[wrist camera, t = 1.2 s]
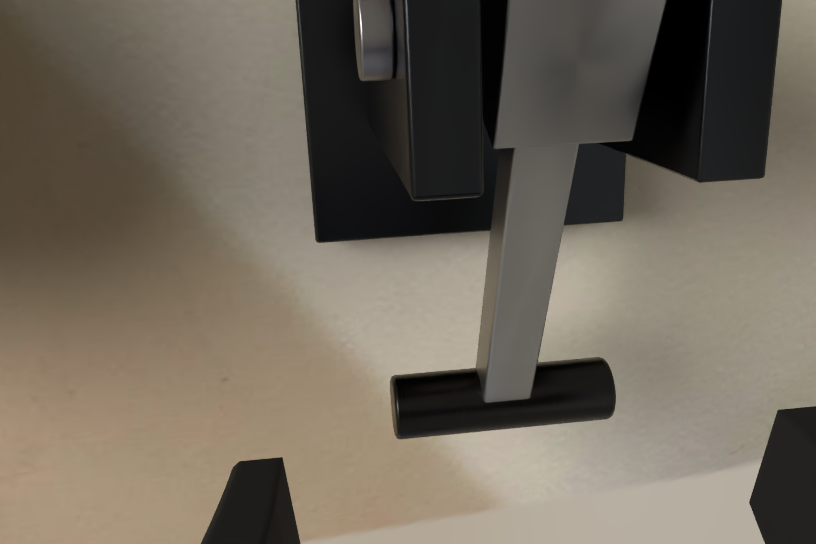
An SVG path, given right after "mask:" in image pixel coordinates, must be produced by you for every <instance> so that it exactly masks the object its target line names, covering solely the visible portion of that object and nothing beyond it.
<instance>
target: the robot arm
mask: <svg viewBox="0 0 816 544" xmlns="http://www.w3.org/2000/svg"><path fill="white" fill-rule="evenodd" d="M749 503H750V506H751V508H752V511H753V514H754V516H755V518H756V521H757V524H758V526H759V529H760V532H761V534H762V537H763V539H764V542H765V544H816V406H815V407H804V408H794V409H784V410H778V411H777V414H776V418H775V421H774V424H773V427H772V431H771V434H770V437H769V440H768V444H767V447H766V450H765V453H764V456H763V460H762V463H761V466H760V469H759V473H758V476H757V479H756V482H755V486H754V489H753V492H752V495H751V498H750V502H749ZM201 544H300V540H299V535H298V530H297V525H296V520H295V516H294V511H293V506H292V501H291V497H290V492H289V487H288V482H287V478H286V473H285V468H284V463H283V458H282V457H281V458H271V459H260V460H250V461H240V462H238V463H237V464H236V465H235V466H234V467H233V469H232V471H231V474H230V477H229V480H228V482H227V485H226V487H225V490H224V492H223V495H222V497H221V500H220V502H219V504H218V507H217V509H216V512H215V514H214V516H213V518H212V521H211V523H210V525H209V527H208V529H207V532H206V534H205V536H204V538H203V540H202V542H201Z"/></svg>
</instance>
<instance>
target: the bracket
mask: <svg viewBox="0 0 816 544" xmlns="http://www.w3.org/2000/svg"><path fill="white" fill-rule="evenodd" d="M781 7H782V0H667V3H666V8H665V12H664V16H663V20H662V24H661V28H660V32H659V36H658V40H657V44H656V48H655V52H654V56H653V60H652V64H651V69H650V73H649V77H648V81H647V85H646V89H645V93H644V97H643V101H642V105H641V109H640V113H639V117H638V121H637V126H636V130H635V134H634V138H633V140H631V141H618V142H602V143H586V144H579V147H578V152H577V157H576V163H575V168H574V173H573V178H572V184H571V189H570V194H569V199H568V205H567V210H566V215H565V220H564V225H576V224H590V223H604V222H618V221H622V220H623V207H624V184H625V162H626V154H627V155H629V156H632V157H635V158H637V159H640V160H642V161H645V162H648V163H650V164H653V165H655V166H658V167H660V168H663V169H666V170H668V171H671V172H673V173H676V174H679V175H681V176H684V177H686V178H689V179H691V180H694V181H697V182H699V183H702V182H717V181H732V180H747V179H760V178H763V177H764V175H765V166H766V156H767V146H768V136H769V126H770V116H771V106H772V96H773V86H774V76H775V66H776V57H777V47H778V37H779V27H780V17H781ZM296 10H297V22H298V34H299V46H300V58H301V71H302V83H303V95H304V107H305V119H306V131H307V143H308V155H309V167H310V179H311V191H312V203H313V215H314V227H315V239H316V242H318V243H325V242H339V241H352V240H366V239H380V238H394V237H408V236H422V235H436V234H450V233H464V232H478V231H491V222H492V213H493V204H494V194H495V185H496V176H497V166H498V157H499V149H494V148H493V147H492V144H491V141H490V139H489V136H488V133H487V130H486V128H485V125H484V122H483V112H482V35H481V0H296Z"/></svg>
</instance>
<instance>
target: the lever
mask: <svg viewBox="0 0 816 544" xmlns="http://www.w3.org/2000/svg"><path fill="white" fill-rule="evenodd" d="M666 3H667V0H481V35H482V112H483V122H484V125H485V128H486V130H487V133H488V136H489V139H490V141H491V144H492V147H493V148H494V149H499V157H498V166H497V176H496V185H495V194H494V204H493V213H492V222H491V232H490V241H489V250H488V259H487V269H486V278H485V287H484V297H483V306H482V315H481V325H480V334H479V343H478V353H477V362H476V368H471V369H460V370H448V371H437V372H426V373H415V374H404V375H394V376H392V377H391V380H390V395H391V408H392V418H393V426H394V432H395V435H396V437H397V438H398V439H408V438H419V437H429V436H439V435H450V434H460V433H470V432H480V431H491V430H501V429H511V428H521V427H532V426H542V425H552V424H562V423H573V422H583V421H593V420H603V419H608V418H610V417H611V416H612V415H613V413H614V410H615V402H616V392H615V384H614V379H613V375H612V372H611V370H610V367H609V365H608V363H607V362H606V361H605V360H604V359H603V358H600V357H594V358H583V359H572V360H561V361H549V362H538V357H539V352H540V347H541V341H542V336H543V331H544V326H545V320H546V315H547V310H548V304H549V299H550V294H551V289H552V283H553V278H554V273H555V268H556V262H557V257H558V252H559V247H560V241H561V236H562V231H563V226H564V220H565V215H566V210H567V205H568V199H569V194H570V189H571V184H572V178H573V173H574V168H575V163H576V157H577V152H578V147H579V144H586V143H602V142H618V141H631V140H633V138H634V134H635V130H636V126H637V121H638V117H639V113H640V109H641V105H642V101H643V97H644V93H645V89H646V85H647V81H648V77H649V73H650V69H651V64H652V60H653V56H654V52H655V48H656V44H657V40H658V36H659V32H660V28H661V24H662V20H663V16H664V12H665V8H666ZM537 362H538V363H537Z"/></svg>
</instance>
